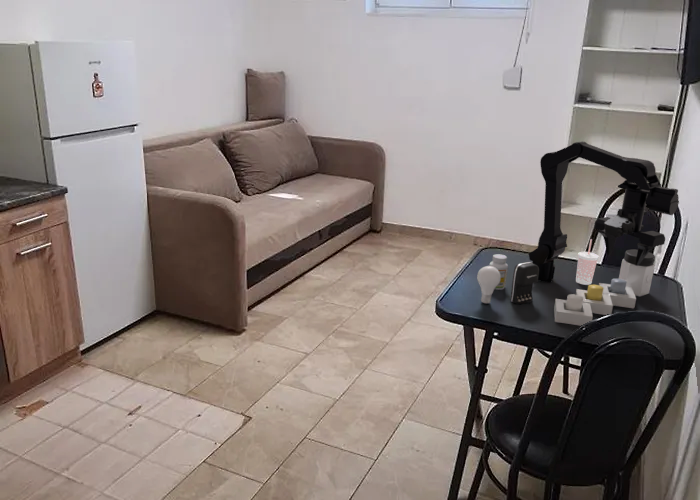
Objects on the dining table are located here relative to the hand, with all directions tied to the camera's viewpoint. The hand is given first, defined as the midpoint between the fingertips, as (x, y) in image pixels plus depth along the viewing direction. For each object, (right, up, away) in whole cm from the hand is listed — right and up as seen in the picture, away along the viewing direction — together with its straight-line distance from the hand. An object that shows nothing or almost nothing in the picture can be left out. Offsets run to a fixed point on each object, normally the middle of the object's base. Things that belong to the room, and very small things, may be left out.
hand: (622, 260), depth 174 cm
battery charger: (-28, -12, +2) cm, 30 cm away
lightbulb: (-39, -12, 0) cm, 41 cm away
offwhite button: (-17, -13, -8) cm, 23 cm away
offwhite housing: (-17, -15, -7) cm, 24 cm away
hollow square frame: (-8, -13, +1) cm, 16 cm away
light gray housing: (+1, -12, +6) cm, 13 cm away
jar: (+9, -10, +14) cm, 19 cm away
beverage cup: (-4, -7, +19) cm, 21 cm away
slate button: (+1, -10, +6) cm, 11 cm away
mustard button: (-8, -11, 0) cm, 14 cm away
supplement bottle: (-33, -8, +12) cm, 36 cm away
